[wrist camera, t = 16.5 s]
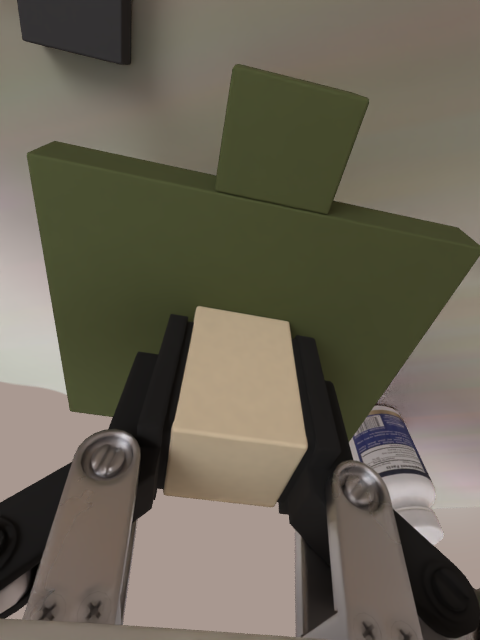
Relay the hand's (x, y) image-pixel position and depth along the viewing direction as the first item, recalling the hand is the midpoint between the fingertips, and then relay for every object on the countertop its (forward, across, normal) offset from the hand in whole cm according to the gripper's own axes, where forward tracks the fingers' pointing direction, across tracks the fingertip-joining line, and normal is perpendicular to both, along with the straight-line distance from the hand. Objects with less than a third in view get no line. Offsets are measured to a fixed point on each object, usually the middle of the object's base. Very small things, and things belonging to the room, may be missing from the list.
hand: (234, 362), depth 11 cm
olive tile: (+2, 0, -1) cm, 3 cm away
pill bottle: (+12, -16, +16) cm, 25 cm away
